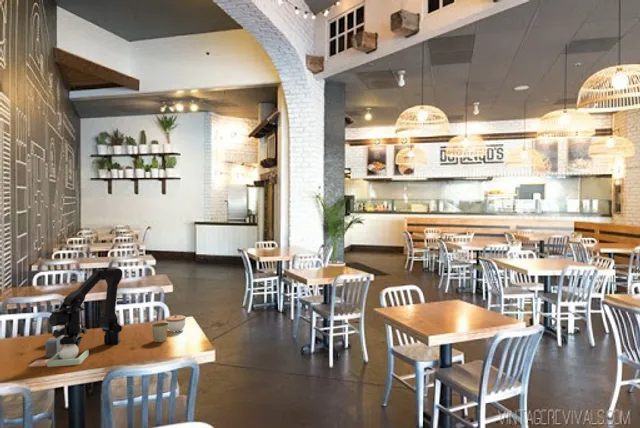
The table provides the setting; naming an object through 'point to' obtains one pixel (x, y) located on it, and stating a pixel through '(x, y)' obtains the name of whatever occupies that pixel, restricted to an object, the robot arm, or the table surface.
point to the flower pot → (159, 331)
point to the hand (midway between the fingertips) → (74, 353)
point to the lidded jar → (176, 322)
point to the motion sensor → (69, 351)
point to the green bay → (66, 360)
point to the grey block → (53, 346)
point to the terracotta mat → (39, 363)
